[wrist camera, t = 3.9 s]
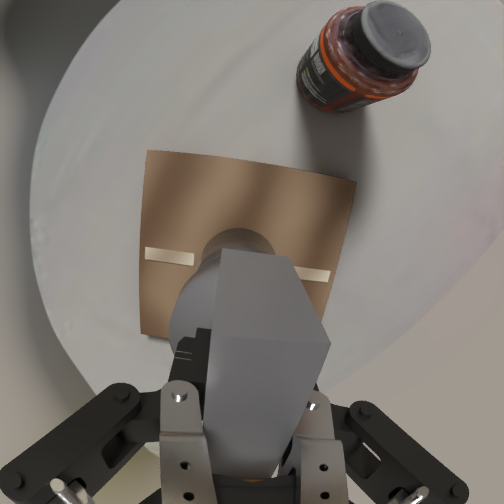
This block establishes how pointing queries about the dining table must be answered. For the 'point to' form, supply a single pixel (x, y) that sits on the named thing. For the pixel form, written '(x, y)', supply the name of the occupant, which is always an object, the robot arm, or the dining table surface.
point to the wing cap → (252, 357)
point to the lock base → (234, 224)
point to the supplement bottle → (363, 57)
